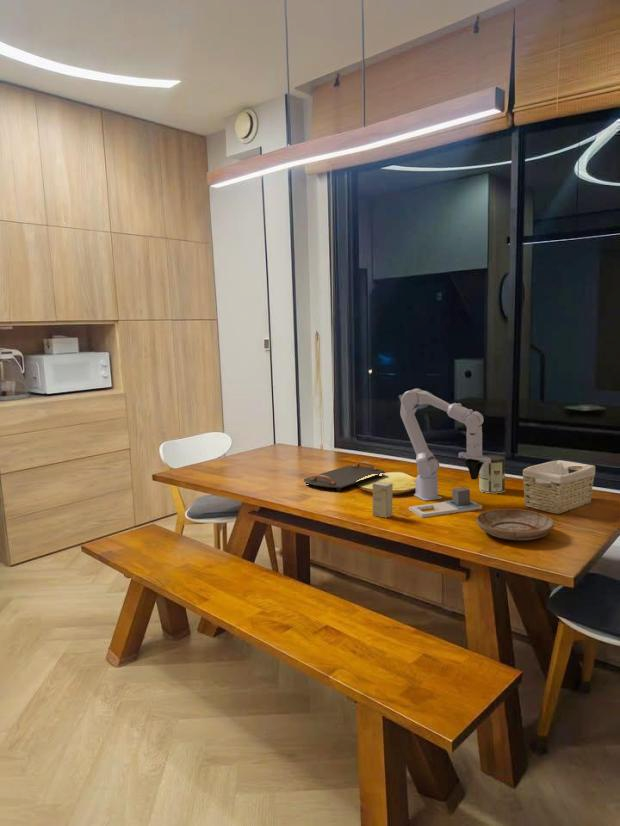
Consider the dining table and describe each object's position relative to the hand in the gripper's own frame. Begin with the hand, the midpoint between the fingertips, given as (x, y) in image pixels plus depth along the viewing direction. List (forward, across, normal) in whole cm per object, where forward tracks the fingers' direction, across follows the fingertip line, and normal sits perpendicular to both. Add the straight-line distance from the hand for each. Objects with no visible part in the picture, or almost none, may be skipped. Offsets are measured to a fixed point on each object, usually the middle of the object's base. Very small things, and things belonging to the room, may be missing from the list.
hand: (474, 478), depth 215 cm
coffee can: (+10, -8, +18) cm, 22 cm away
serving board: (+10, -59, -20) cm, 64 cm away
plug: (+10, +1, -8) cm, 12 cm away
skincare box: (+10, -9, -37) cm, 40 cm away
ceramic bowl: (+10, +31, -15) cm, 36 cm away
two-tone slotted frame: (+9, -1, -15) cm, 17 cm away
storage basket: (+10, +20, +22) cm, 32 cm away
